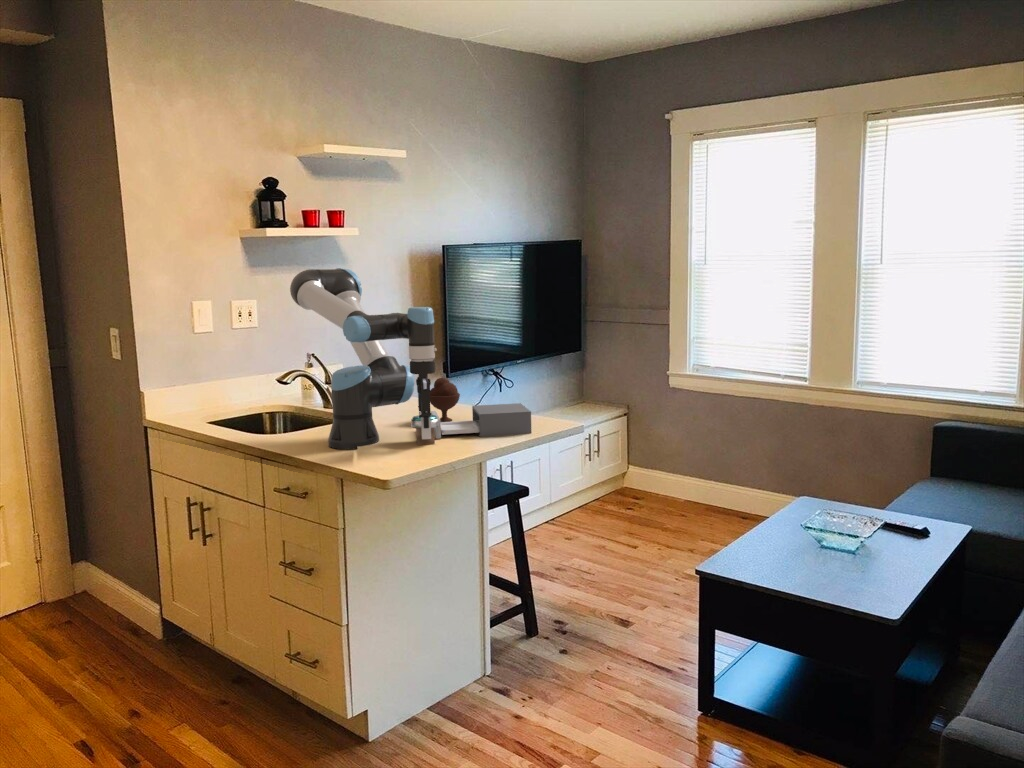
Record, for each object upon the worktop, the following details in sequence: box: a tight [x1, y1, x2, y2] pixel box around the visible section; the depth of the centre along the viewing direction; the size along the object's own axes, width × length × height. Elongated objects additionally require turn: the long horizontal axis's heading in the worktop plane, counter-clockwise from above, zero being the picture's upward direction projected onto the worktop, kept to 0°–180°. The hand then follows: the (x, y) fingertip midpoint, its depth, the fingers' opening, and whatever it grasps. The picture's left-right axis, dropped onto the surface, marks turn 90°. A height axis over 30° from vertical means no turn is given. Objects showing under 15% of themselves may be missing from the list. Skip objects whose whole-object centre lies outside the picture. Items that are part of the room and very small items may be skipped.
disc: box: [410, 414, 438, 430], centre depth 245 cm, size 8×8×3 cm
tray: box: [430, 410, 480, 440], centre depth 260 cm, size 16×17×6 cm
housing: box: [471, 402, 532, 438], centre depth 262 cm, size 16×17×7 cm
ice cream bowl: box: [430, 377, 461, 422], centre depth 279 cm, size 11×11×15 cm
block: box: [415, 428, 436, 446], centre depth 246 cm, size 5×5×5 cm
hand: (425, 436), depth 246 cm, fingers closed on disc, 8 cm apart
